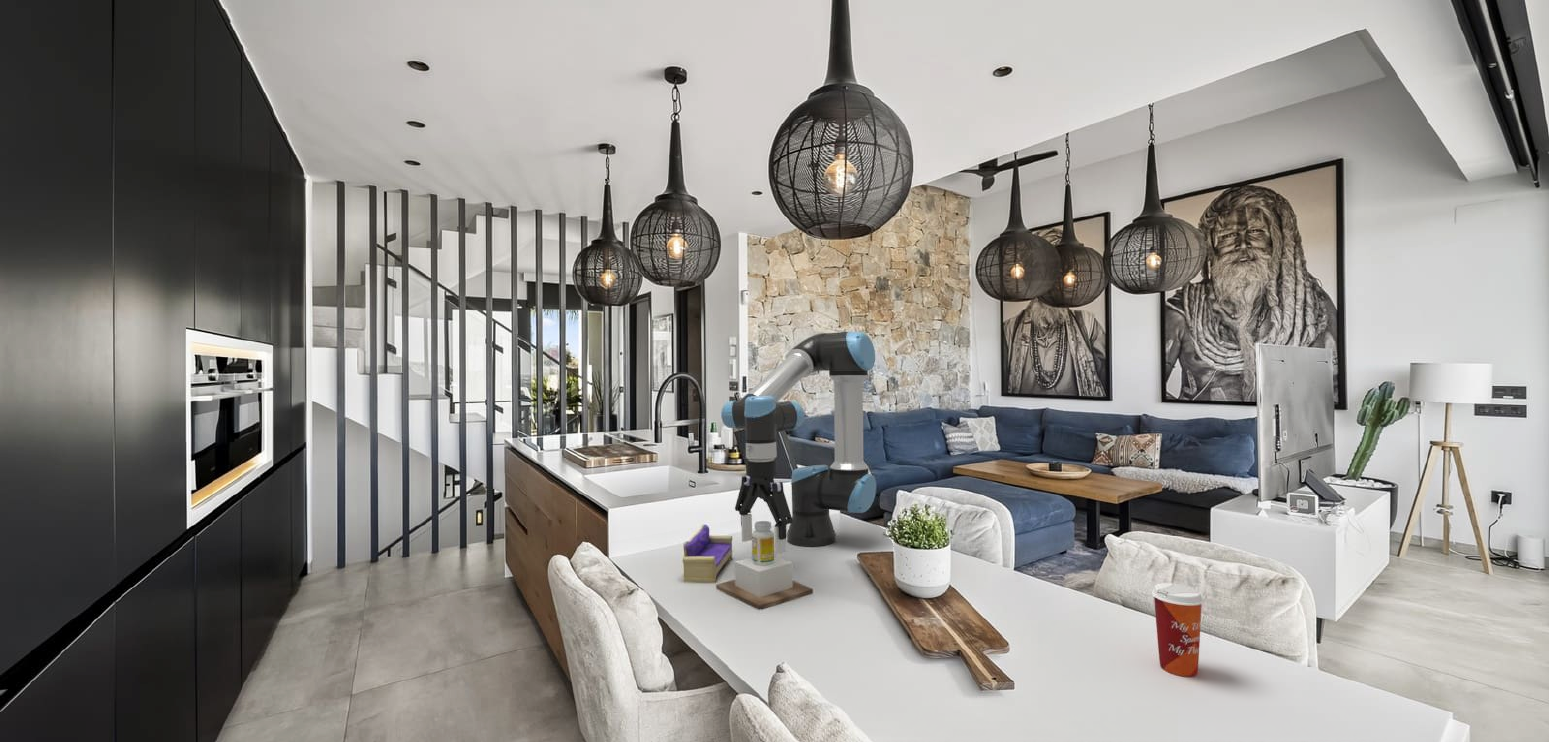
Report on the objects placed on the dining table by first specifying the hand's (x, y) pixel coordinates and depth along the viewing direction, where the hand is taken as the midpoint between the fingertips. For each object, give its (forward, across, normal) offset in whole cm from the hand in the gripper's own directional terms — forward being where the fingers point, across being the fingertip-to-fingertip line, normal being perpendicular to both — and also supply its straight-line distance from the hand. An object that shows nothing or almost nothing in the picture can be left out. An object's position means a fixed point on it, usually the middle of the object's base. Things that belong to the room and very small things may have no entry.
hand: (763, 546), depth 153 cm
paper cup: (+11, +79, +32) cm, 86 cm away
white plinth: (+11, 0, 0) cm, 11 cm away
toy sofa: (+11, -23, -2) cm, 25 cm away
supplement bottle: (+4, 0, 0) cm, 4 cm away
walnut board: (+11, 0, 0) cm, 11 cm away
